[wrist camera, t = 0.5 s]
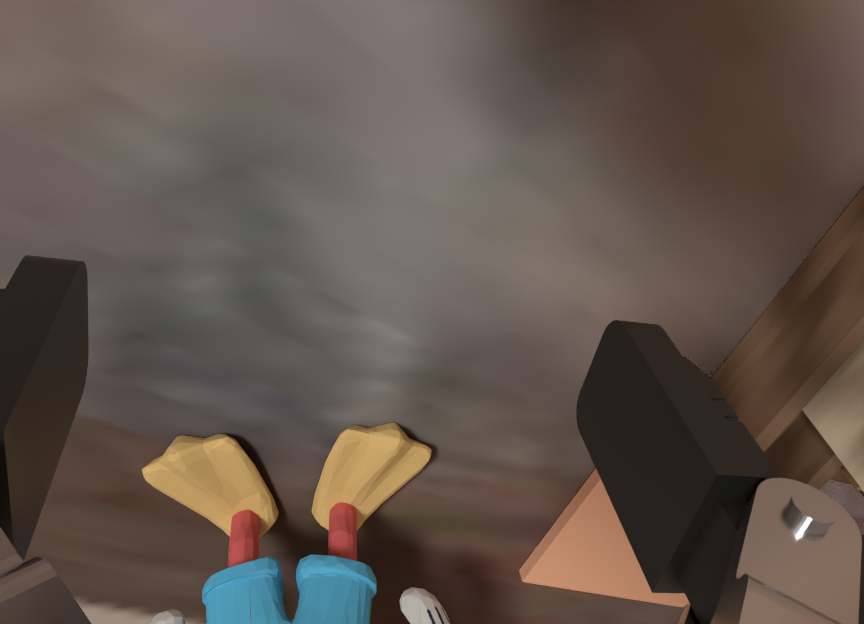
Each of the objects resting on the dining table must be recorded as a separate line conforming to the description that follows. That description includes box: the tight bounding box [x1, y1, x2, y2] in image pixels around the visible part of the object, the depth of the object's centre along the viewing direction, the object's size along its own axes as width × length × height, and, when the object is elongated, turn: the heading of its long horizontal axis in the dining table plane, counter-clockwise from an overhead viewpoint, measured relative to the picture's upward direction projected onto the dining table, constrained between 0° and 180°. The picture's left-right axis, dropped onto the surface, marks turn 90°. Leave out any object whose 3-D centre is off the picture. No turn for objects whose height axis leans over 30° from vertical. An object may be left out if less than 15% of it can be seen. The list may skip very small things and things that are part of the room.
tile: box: [519, 469, 689, 608], centre depth 46 cm, size 12×12×1 cm
